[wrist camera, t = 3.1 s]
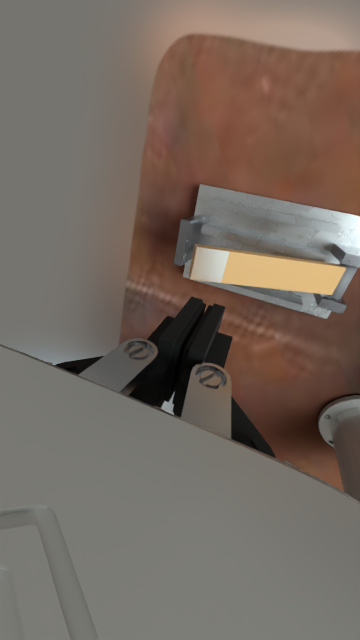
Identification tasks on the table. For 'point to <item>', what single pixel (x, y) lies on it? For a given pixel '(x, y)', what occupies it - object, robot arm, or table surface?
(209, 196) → the grey slotted holder
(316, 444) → the table surface
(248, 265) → the tan rectangular bar
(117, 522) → the robot arm
